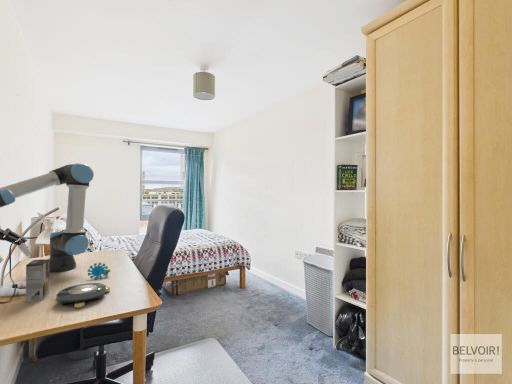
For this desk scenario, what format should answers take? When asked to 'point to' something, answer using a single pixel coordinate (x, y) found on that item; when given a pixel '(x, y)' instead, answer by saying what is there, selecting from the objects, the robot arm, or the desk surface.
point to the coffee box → (37, 280)
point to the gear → (98, 271)
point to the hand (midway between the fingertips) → (16, 258)
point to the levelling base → (82, 294)
